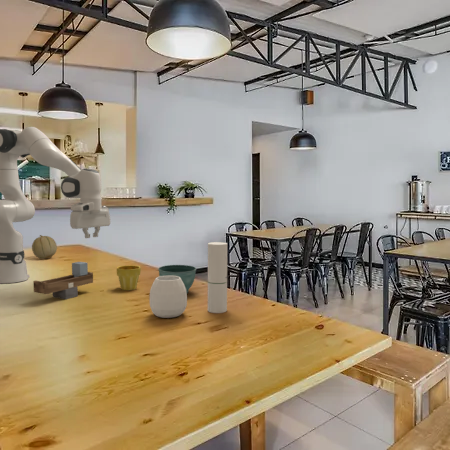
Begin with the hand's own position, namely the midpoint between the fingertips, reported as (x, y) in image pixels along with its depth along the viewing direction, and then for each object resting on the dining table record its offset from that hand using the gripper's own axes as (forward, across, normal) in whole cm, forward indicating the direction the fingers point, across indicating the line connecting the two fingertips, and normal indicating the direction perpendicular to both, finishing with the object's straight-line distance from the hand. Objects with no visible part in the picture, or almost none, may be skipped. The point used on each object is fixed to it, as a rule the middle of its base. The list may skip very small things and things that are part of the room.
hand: (91, 237), depth 185 cm
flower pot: (+23, -14, +36) cm, 45 cm away
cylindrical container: (+23, 0, +64) cm, 68 cm away
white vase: (+23, +14, +52) cm, 59 cm away
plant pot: (+23, -9, +13) cm, 28 cm away
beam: (+23, +15, 0) cm, 27 cm away
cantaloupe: (+23, -43, -87) cm, 100 cm away
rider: (+17, +7, 0) cm, 18 cm away
